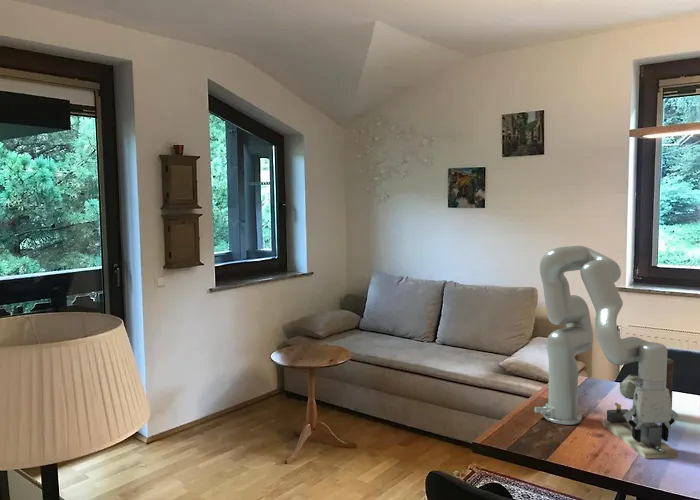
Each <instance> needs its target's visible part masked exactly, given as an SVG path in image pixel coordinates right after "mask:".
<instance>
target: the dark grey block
mask: <svg viewBox="0 0 700 500" xmlns="http://www.w3.org/2000/svg"><path fill="white" fill-rule="evenodd" d="M639 429H640V430H641V442H642V443H643V444H644V445H646V446H647V447H655V448H656V449H657V450H659V451H660V452H661V453H665V451H664V450H663V449H662V448H660V447H661V441H662V439H661V437H662V427H660V425H659V424H658V423H642V425H641V426H640V428H639Z"/></svg>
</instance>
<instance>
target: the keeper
mask: <svg viewBox="0 0 700 500" xmlns="http://www.w3.org/2000/svg"><path fill="white" fill-rule="evenodd" d="M614 405H615V408H616V409H606V419H607V421H609V422H610V423H628V422H627V420H626V419H625V417H624V416H623V415H624V414H625V413H626V412H627V411H629V410H630V409H627V408H625V409H622V404H619V403H618V402H615V403H614ZM631 419H632V420H633V416H631Z"/></svg>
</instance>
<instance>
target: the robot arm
mask: <svg viewBox="0 0 700 500" xmlns="http://www.w3.org/2000/svg"><path fill="white" fill-rule="evenodd" d="M573 271H580V272H579V273H580V274H579V275H580V277H581V280H582V283H583V284H584V287H585V289H586V291H587V294H588V296H589V298H590V301H591V302H592V304H593V308H594V310H595V319H594V321H595V323H594V324H595V335H596V339H597V342H598V344H599V346H600V348H601V350H602V353H603V355H604V356H605V359H606V360H608V361H609V363H610V364H613V365H616V366H625V365H628V364H632V363H634V362H635V363H637V362H638V372H637V374H638V375H637V377H638V380H637V381H634V384H635V385H638V386H637V387H636V389H635V393H634V398H632V408H630V409H628V410H629V411H627V412H626V413H625V414H624V415H623V416H624V417H625V419H626V420H627V422H628V423H629V424H630V425H631V426H632V437H633V439H634V440H636V441H637V442H641V430H640V429H639V428H640V426H641V425H642V423H656V424H660V425H659V426H660V427H662V437H661V440H662V441H663V442H668V440H669V439H668V438H669V431H670V430H669V429H671V427H672V425H673V424H674V423H675V420H677V418H678V417H679V413H678V412H677V411H675V410H674V409H671V399H670V393H669V389H667V388H666V374H667V359H668V348H667V347H666V345H664V344H662V343H659V342H654V341H653V342H650V341H648V340H645V339H642V338H640V337H637V336H636V337H635V336H628V337H624V338H621V336H620V332H619V330H618V327H617V326H618V325H617V319H618V316H619V313H620V311H621V309H622V308H623V305H624V301H623V299H622V297H621V294H620V292H619V291H618V288H617V286H616V284H615V283H616V282H618V281H619V280H620V278H621V275H622V271H621V267H620V266H619V264H618V263H617V262H616V261H615V260H614V259H612V258H610V257H609V256H606V255H605V254H602V253H600V252H597V251H595V250H594V249H592V248H590V247H587V246H584V245H570V246H561V247H560V246H559V247H556V248H553V249H550V250H548V251H547V252H546V253H545V254H544V255H543V257H541V260H540V263H539V273H540V279H541V281H542V288H543V295H544V297H543V298H544V303H545V309H546V316H547V319H548V321H549V322H550V323H551V324H553V325H556V326H563V325H565V326H566V327H563V328H559V329H556V330H554V331H552V332H551V333H550V334H548V336H547V338H546V341H545V342H546V350H547V351H546V352H547V356H548V357H547V358H548V401H547V402H546V403H545V405H542V406H534V413H535V414H536V413H540V414H541V415H543V418H544V419H545V420H546V421H548V422H551V423H554V424H557V425H558V424H559V425H567V426H569V425H570V426H571V425H578V424H580V423H582V420H583V416H582V415H581V414H580V412H578V403H579V402H578V400H579V399H578V397H579V396H578V395H579V390H578V389H579V388H578V387H579V367H578V362H577V360H576V358H575V355H578V354H581V353H585V352H587V351H588V350H590V348H591V347H592V345H593V340H594V339H593V338H594V336H593V334H594V333H593V328H592V320H591V315H590V307H589V306H588V303H587V302H586V300H584V298H583V297H582V296H579V295H577V294H572V295H571V291H570V290H571V289H570V284H569V281H568V278H567V277H566V276H565V274H564V273H567V272H573ZM631 416H632V419H631ZM632 420H633V421H632Z"/></svg>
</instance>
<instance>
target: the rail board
mask: <svg viewBox="0 0 700 500" xmlns="http://www.w3.org/2000/svg"><path fill="white" fill-rule="evenodd" d="M632 421H633V419H632ZM601 425H603V427H605V428H606V429H608V430H609V431H610V432H611V433H613V435H615V436H616V437H618V438H619V439H620V440H621V441H622V442H624V443H625V444H626V445H628V446H629V447H630V448H631V449H632V450H634V451H635V452H636V453H638V454H639V456H641V457H643V458H644V459H660V458H661V459H662V458H664V459H665V458H666V459H667V458H678V457H679V452H678V451H677V450H676V449H674V448H673V447H671V446H670V445H668V444H667V443H666V442H665V441H664V440H661V447H660V448H662V449H663V450H664V451H665V453H661V452H660V451H659V450H657V449H656V448H655V447H647V446H646V445H644V444H643V443H642V442H637V441H636V440H634V439H633V437H632V426H631V425H630V424H629V423H610V422H609V421H607V418H606V419H601Z"/></svg>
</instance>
